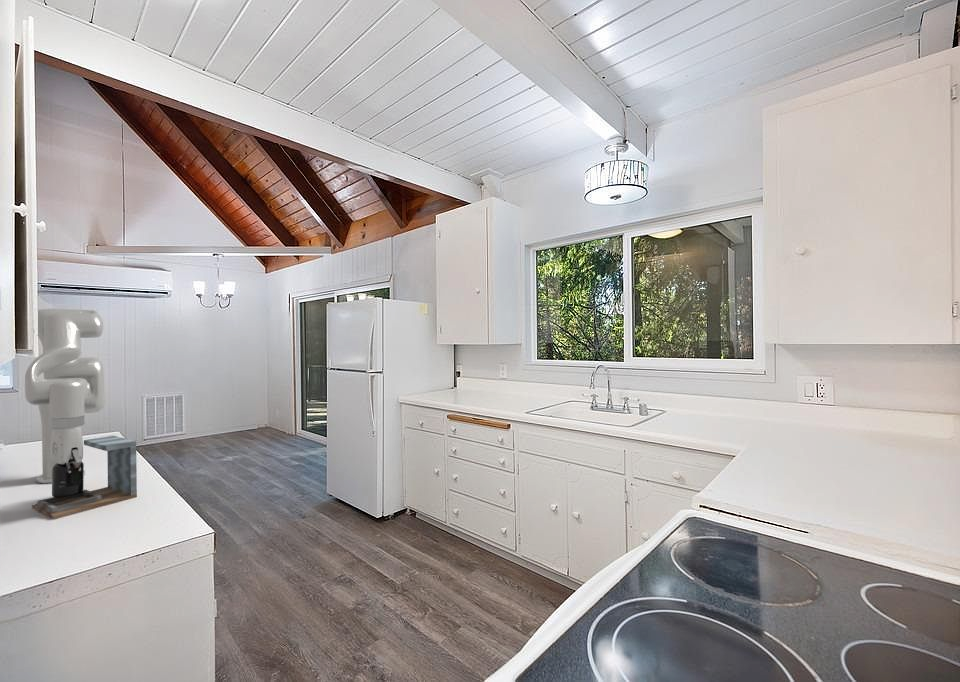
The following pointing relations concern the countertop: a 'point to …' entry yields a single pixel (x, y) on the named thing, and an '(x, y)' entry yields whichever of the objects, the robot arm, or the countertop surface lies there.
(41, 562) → the countertop surface
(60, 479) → the supplement bottle
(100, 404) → the robot arm
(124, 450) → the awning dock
